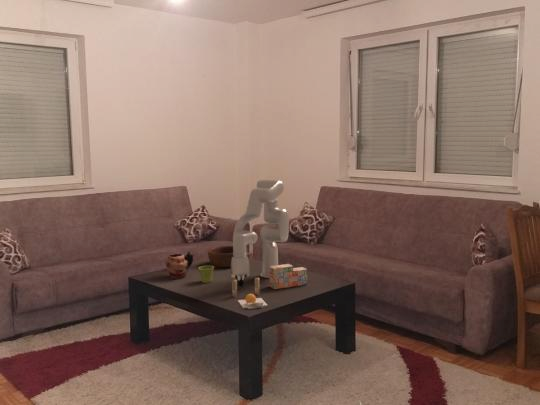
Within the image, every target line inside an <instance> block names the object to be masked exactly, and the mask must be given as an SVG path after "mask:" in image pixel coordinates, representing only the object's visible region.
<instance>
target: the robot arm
mask: <svg viewBox="0 0 540 405" xmlns="http://www.w3.org/2000/svg"><path fill="white" fill-rule="evenodd" d="M284 186H285V185H284V183H283V181H281V180H277V179H276V180H274V179H260V180H258V181H257V182H256V188H253V189H252V190H251V191H250V194H249V198H248V202H247V207H246V210H245V213H243V215H241V216H240V218H239V219H238V220H237V222H236V223H235V226H234V230H233V235H232V246H233V257H232V261H231V268H230V272H231V274H230V276H231V278H234V279H235V280H237V287H239V288H243V286H244V285H245V284H244V283H245V282H244V280H245V279H246V278H247V277H250V275H251V274H250V270H251V269H250V261H249V257H248V255H250V252H248V250H247V245H254V244H256V243H257V241H258V239H259V236H258V234H257V232H255V231H251V230H244V228H245V226H246V225H247V224H248V223H249V222H251V221H253V220H255V219H257V218H259V217H260V216H261V213H262V210H263V220H264V222H265V223H267V225H264V226H262V227H261V229H260V238H261V245H262V246H261V248H262V253H261V254H262V272H261V273H260V277H261V278H263V279H264V278H265V279H270V266H276V265H279V249H278V245H277V243H285V242H287V241H288V238H289V234H290V233H289V229H290V227H289V226H290V214H289V212H288V210H287V209H285V208H279V203H278V202H279V201H278V198H279V197H280V196H281V195H282V194H283V192H284V188H285V187H284ZM262 208H263V209H262ZM269 224H270V225H269ZM271 224H272V225H271ZM274 224H276V225H274ZM240 276H241V277H240Z"/></svg>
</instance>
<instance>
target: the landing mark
mask: <svg viewBox="0 0 540 405" xmlns="http://www.w3.org/2000/svg"><path fill="white" fill-rule="evenodd" d="M237 302H238V303H239V304H240V306H241V308H243V309H248V308H247V303H246V301H245V299H238V300H237ZM255 302H263V307H266V306H268V304H267V303H266V301H264V299H263V298H262V297H256V301H255Z"/></svg>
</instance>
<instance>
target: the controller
mask: <svg viewBox="0 0 540 405" xmlns="http://www.w3.org/2000/svg"><path fill="white" fill-rule="evenodd" d="M183 255H184V254H183ZM184 258H185V260H186V262H187V267H186V268H187V269H188V268H189V267H191V265H193V262H194V255H193V254H191V251H187V254H186V255H184ZM186 268H185V269H186Z"/></svg>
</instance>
